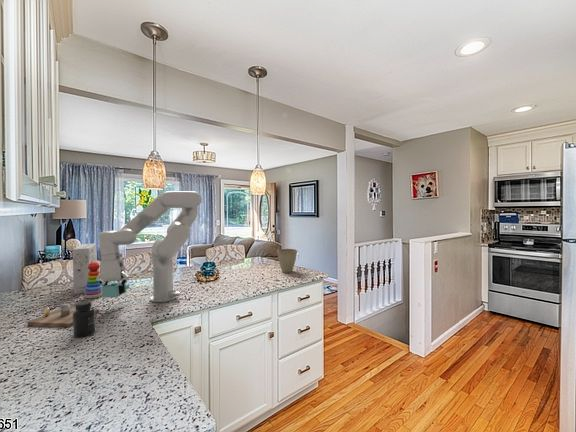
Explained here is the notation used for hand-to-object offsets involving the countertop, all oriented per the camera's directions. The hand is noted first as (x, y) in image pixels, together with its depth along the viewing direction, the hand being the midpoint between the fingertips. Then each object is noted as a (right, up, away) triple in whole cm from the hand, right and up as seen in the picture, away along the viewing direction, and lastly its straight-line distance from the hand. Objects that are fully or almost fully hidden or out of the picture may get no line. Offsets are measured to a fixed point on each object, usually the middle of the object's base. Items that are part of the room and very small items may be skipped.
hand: (114, 293), depth 133 cm
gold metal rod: (-20, -6, -14) cm, 25 cm away
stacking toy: (-21, -7, +16) cm, 27 cm away
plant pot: (+83, -4, +74) cm, 111 cm away
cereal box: (-37, -6, +32) cm, 49 cm away
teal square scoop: (0, -1, +3) cm, 3 cm away
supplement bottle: (+5, -8, -27) cm, 29 cm away
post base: (-13, -7, -13) cm, 20 cm away
